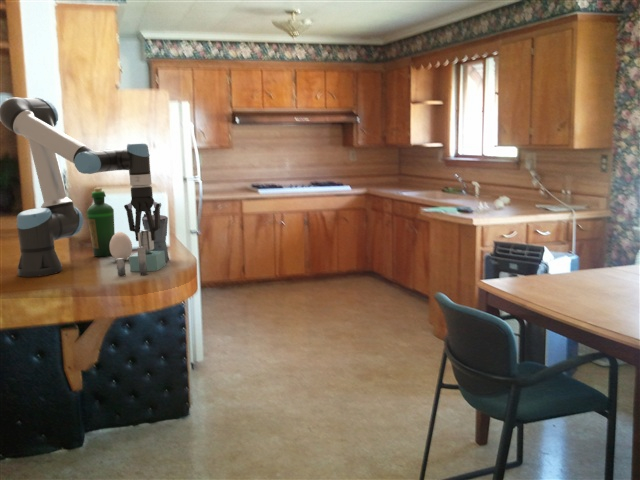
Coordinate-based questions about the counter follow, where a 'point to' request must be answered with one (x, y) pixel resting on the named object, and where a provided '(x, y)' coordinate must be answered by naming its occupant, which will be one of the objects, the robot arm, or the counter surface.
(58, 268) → the robot arm
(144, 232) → the pin long
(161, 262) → the teal square nut
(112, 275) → the counter surface
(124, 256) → the egg
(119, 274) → the pin short
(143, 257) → the pin medium
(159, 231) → the moka pot
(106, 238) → the bottle
